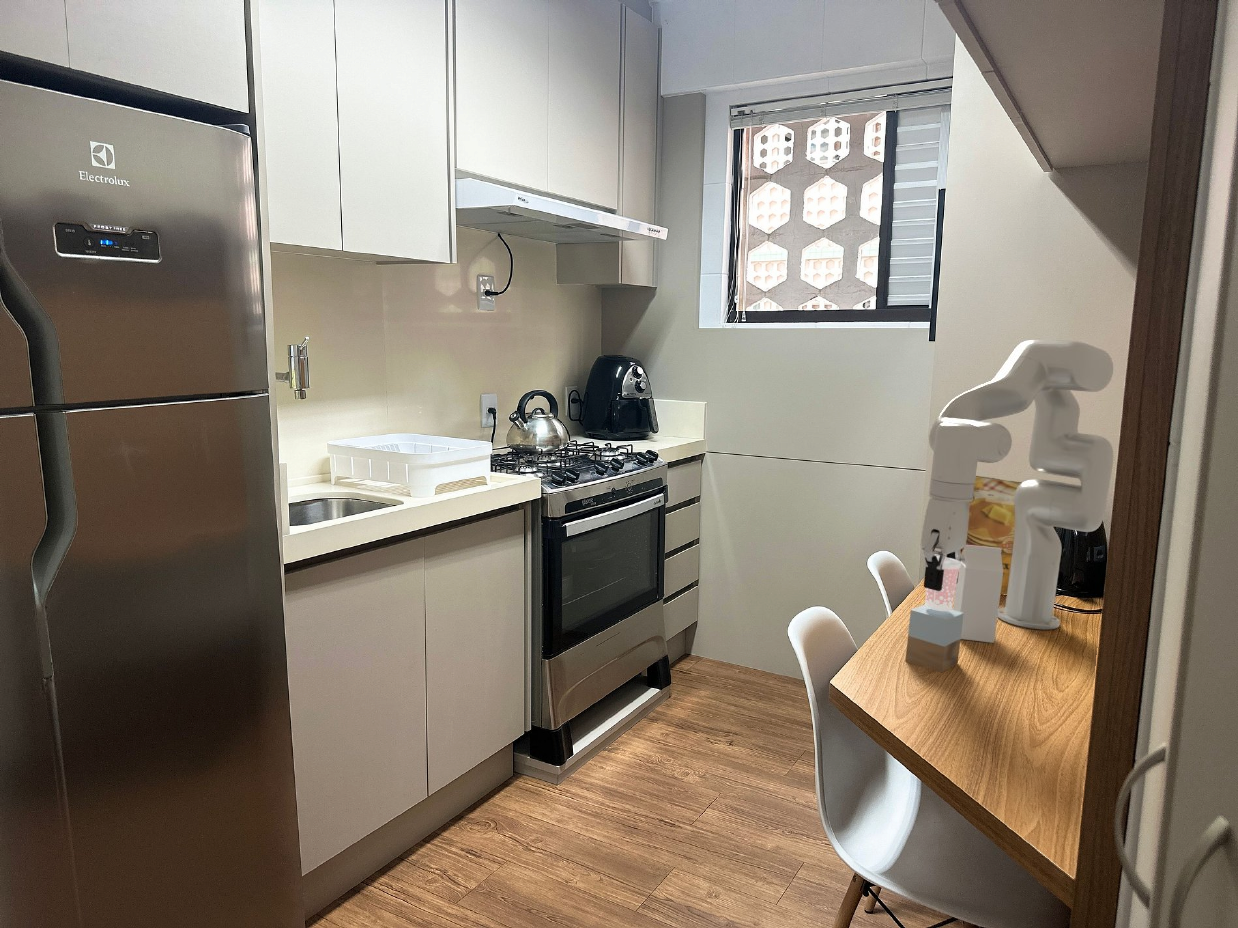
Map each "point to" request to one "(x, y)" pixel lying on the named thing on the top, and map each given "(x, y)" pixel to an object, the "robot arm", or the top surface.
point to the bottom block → (932, 654)
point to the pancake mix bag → (993, 519)
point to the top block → (935, 625)
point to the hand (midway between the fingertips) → (940, 584)
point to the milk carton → (979, 592)
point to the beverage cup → (944, 587)
